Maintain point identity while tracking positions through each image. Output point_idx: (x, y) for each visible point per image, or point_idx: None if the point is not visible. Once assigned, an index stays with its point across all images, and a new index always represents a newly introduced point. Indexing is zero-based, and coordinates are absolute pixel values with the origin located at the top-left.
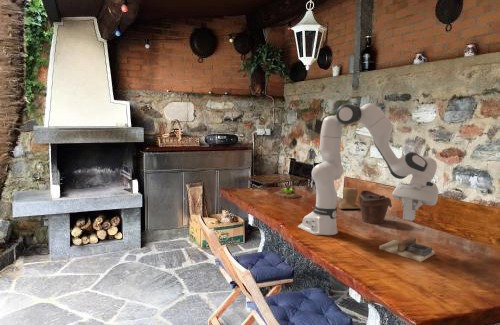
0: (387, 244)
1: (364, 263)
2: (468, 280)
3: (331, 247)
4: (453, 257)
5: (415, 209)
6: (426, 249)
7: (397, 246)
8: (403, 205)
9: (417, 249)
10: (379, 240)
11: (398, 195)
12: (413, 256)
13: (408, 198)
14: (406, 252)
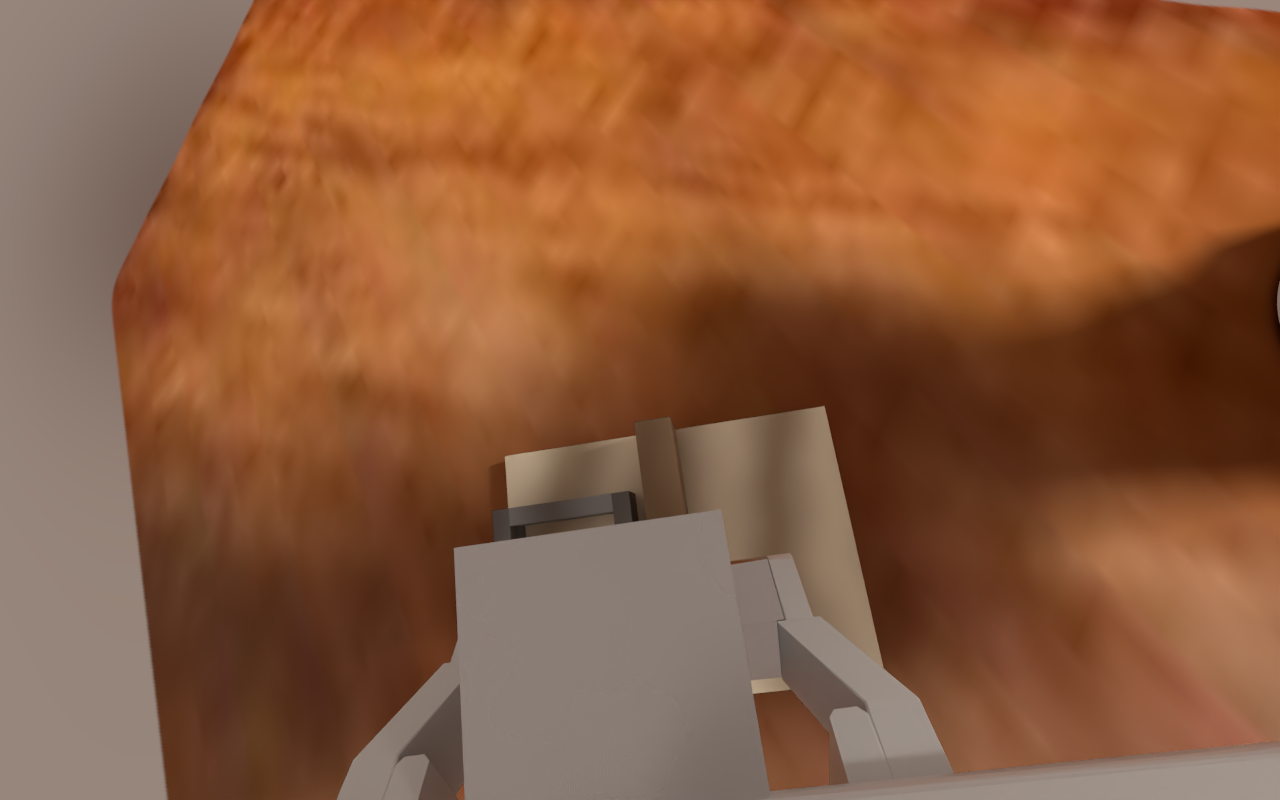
0: (818, 496)
1: (685, 132)
2: (241, 448)
3: (999, 126)
4: None
5: None
6: None
7: (744, 530)
8: (752, 567)
9: (548, 502)
10: (978, 597)
11: (1170, 782)
12: (557, 448)
13: (639, 644)
14: (625, 471)
